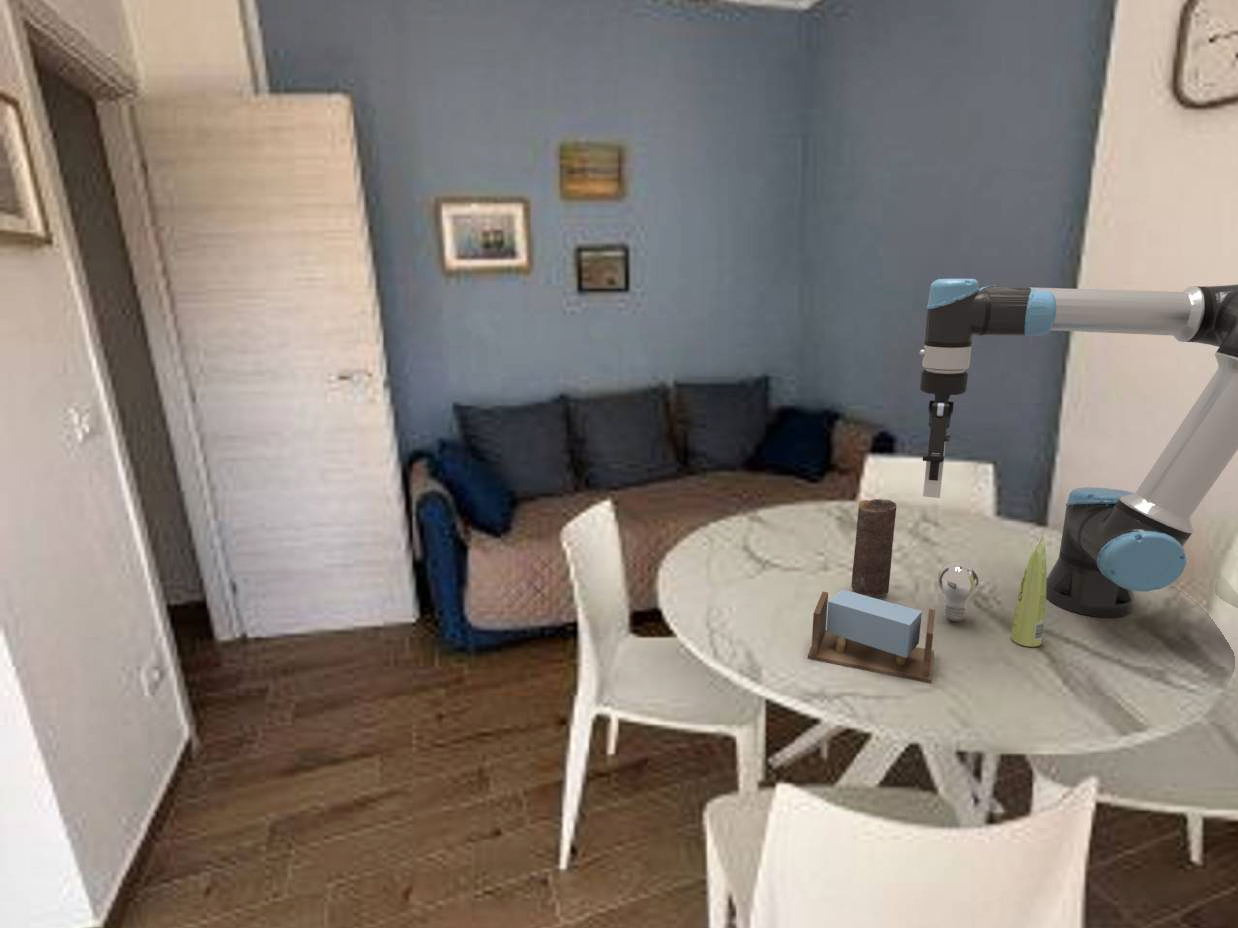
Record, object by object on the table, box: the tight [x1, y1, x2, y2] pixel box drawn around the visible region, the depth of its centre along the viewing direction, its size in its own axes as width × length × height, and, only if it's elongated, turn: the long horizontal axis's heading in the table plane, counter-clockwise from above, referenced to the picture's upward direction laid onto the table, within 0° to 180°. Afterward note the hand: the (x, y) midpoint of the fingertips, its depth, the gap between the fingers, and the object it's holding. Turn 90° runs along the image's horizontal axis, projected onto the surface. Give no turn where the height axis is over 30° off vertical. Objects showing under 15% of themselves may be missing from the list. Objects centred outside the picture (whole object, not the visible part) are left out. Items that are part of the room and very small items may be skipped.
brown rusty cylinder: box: [850, 498, 897, 598], centre depth 148 cm, size 8×7×20 cm
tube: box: [1010, 533, 1047, 648], centre depth 130 cm, size 6×5×20 cm
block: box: [826, 589, 923, 658], centre depth 126 cm, size 6×14×6 cm, turn 50°
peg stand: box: [807, 591, 936, 684], centre depth 127 cm, size 20×10×9 cm, turn 65°
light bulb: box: [937, 560, 980, 623], centre depth 138 cm, size 7×7×12 cm
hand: (933, 485), depth 134 cm, fingers open, 13 cm apart
